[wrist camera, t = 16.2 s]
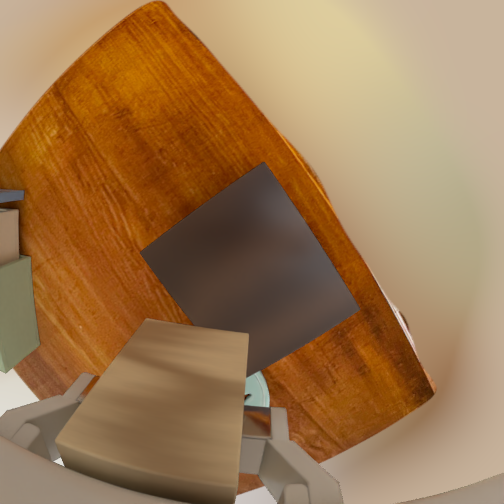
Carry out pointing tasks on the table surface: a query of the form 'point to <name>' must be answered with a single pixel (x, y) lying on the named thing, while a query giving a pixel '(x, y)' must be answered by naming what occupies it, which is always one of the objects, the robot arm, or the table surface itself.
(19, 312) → the cabinet
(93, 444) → the block
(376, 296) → the table surface
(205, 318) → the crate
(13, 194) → the drawer
